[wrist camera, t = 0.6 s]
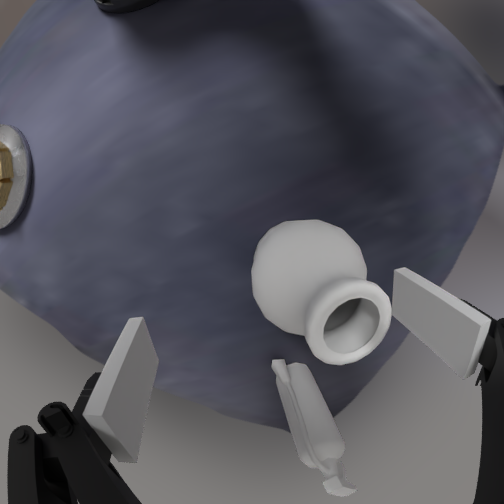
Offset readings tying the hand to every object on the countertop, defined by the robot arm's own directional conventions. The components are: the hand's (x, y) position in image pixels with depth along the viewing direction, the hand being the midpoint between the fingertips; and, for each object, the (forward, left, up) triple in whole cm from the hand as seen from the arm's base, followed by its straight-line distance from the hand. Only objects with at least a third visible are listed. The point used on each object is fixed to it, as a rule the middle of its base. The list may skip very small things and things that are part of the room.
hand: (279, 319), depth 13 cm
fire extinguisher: (+28, +4, -27) cm, 39 cm away
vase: (+7, +7, -27) cm, 28 cm away
